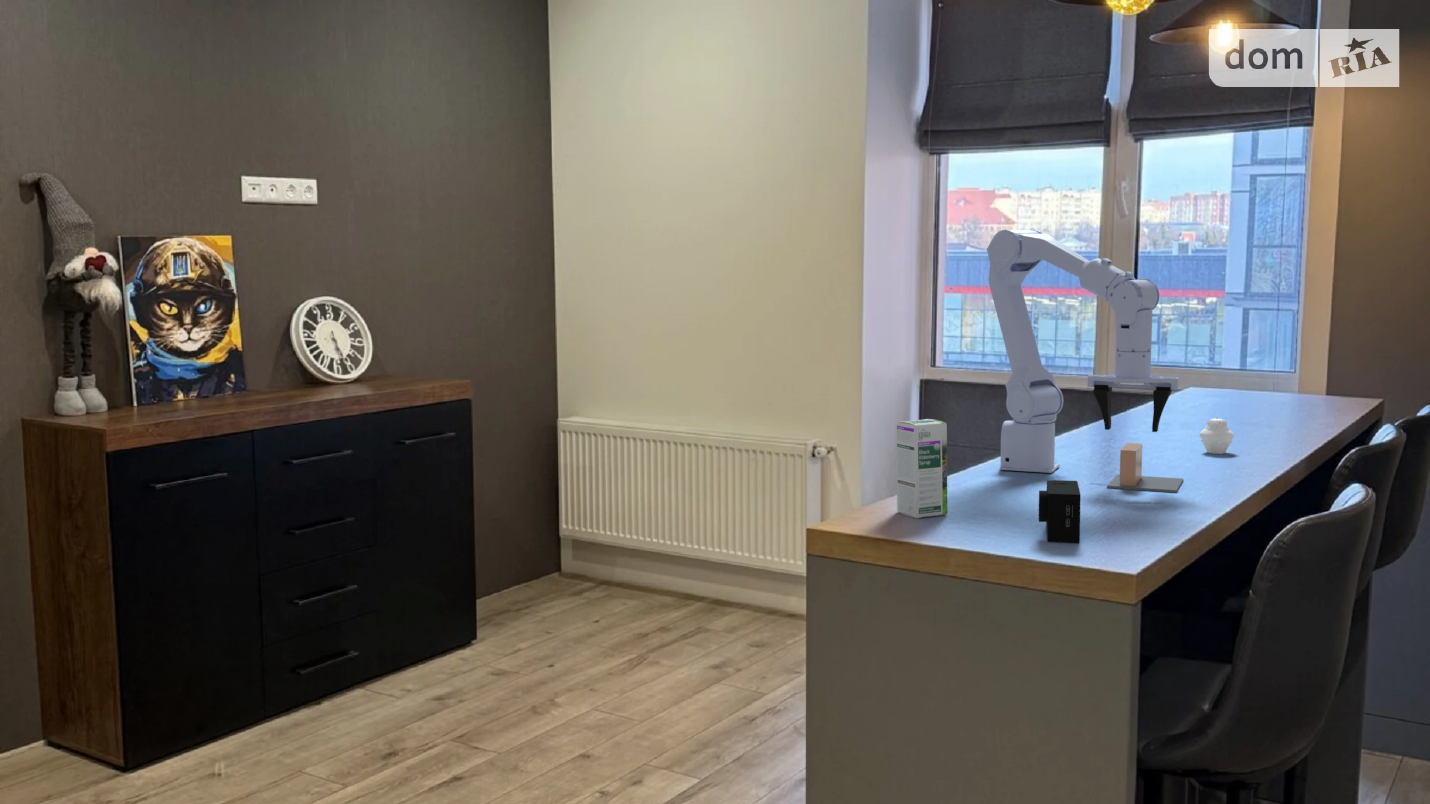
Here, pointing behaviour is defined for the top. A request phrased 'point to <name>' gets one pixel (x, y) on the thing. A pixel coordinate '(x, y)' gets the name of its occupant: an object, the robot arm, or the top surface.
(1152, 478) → the mat
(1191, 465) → the top surface
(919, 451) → the syrup box
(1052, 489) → the digital camera
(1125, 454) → the block
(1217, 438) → the muffin
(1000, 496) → the top surface
